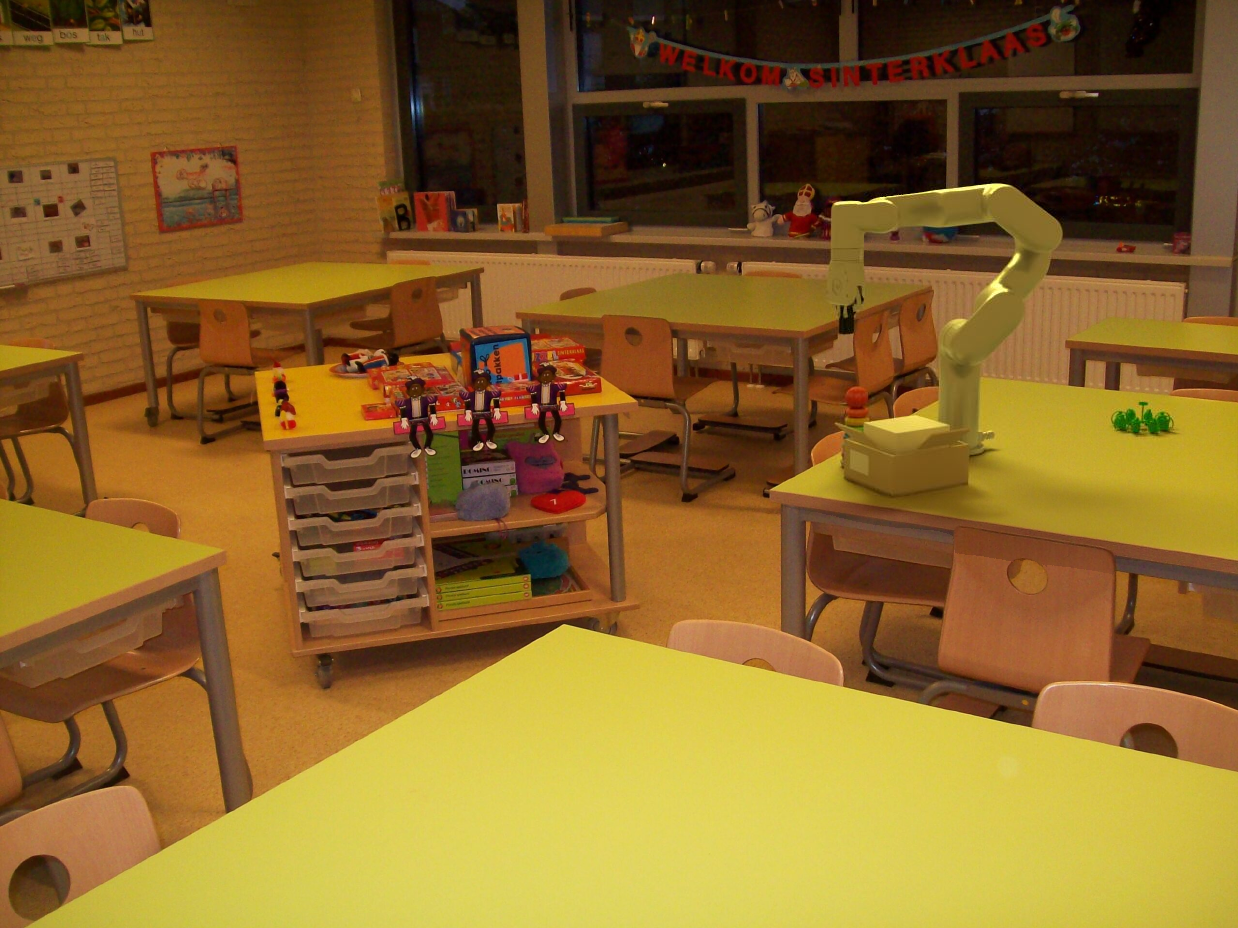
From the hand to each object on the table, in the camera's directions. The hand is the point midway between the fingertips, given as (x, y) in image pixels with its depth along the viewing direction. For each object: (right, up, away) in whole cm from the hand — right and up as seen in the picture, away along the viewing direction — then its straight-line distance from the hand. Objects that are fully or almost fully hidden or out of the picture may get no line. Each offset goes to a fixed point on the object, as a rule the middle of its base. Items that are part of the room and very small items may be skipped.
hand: (846, 333), depth 289 cm
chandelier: (+78, -22, +20) cm, 84 cm away
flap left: (+14, -25, -31) cm, 43 cm away
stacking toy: (+2, -32, -5) cm, 32 cm away
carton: (+9, -35, -19) cm, 40 cm away
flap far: (-2, -25, -26) cm, 36 cm away
